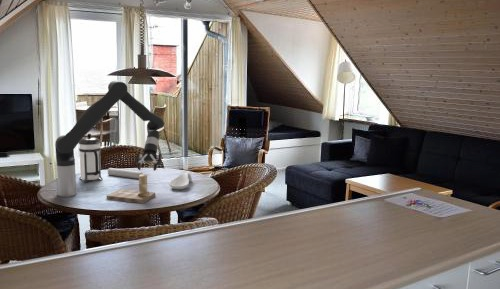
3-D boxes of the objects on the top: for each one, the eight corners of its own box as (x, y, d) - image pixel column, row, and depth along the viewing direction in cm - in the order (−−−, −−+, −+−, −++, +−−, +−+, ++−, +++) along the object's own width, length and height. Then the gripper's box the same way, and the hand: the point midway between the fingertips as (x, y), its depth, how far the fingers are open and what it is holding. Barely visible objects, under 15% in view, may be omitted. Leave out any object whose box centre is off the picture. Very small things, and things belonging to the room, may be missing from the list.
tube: (145, 172, 274) (113, 168, 282) (140, 171, 269) (108, 167, 277) (143, 180, 273) (111, 175, 281) (139, 179, 268) (106, 175, 276)
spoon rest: (185, 192, 245) (185, 180, 244) (166, 190, 247) (166, 179, 245) (196, 182, 268) (197, 171, 267) (179, 180, 270) (179, 170, 268)
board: (106, 199, 227) (106, 195, 226) (120, 192, 240) (120, 188, 240) (142, 203, 221) (142, 199, 221) (155, 196, 235) (155, 192, 234)
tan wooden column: (137, 195, 227) (137, 176, 226) (140, 193, 232) (139, 174, 230) (146, 196, 227) (146, 176, 226) (148, 193, 232) (148, 174, 230)
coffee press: (72, 182, 258) (70, 134, 253) (86, 176, 273) (85, 131, 268) (98, 184, 255) (96, 136, 250) (111, 178, 270) (109, 132, 265)
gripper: (137, 142, 241) (132, 165, 232) (162, 143, 241) (158, 166, 232) (140, 149, 248) (135, 172, 238) (164, 150, 248) (160, 173, 238)
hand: (146, 169), depth 235 cm, fingers open, 8 cm apart
